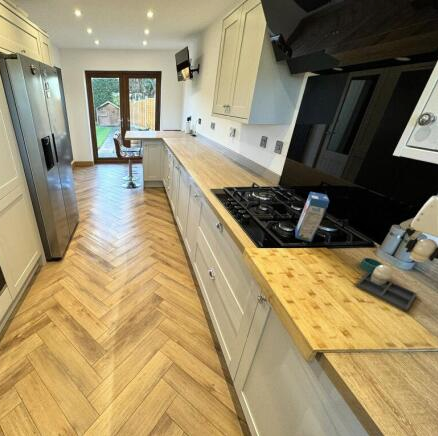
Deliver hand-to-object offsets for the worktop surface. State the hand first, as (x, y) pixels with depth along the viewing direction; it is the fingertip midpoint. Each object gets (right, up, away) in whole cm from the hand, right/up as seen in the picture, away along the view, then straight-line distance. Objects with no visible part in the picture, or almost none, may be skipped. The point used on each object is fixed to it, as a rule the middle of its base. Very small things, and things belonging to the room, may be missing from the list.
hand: (419, 254), depth 69 cm
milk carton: (-7, +2, +41) cm, 42 cm away
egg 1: (0, -12, +13) cm, 17 cm away
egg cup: (+4, -9, +20) cm, 22 cm away
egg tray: (-1, -14, +9) cm, 17 cm away
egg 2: (0, -2, +1) cm, 2 cm away
